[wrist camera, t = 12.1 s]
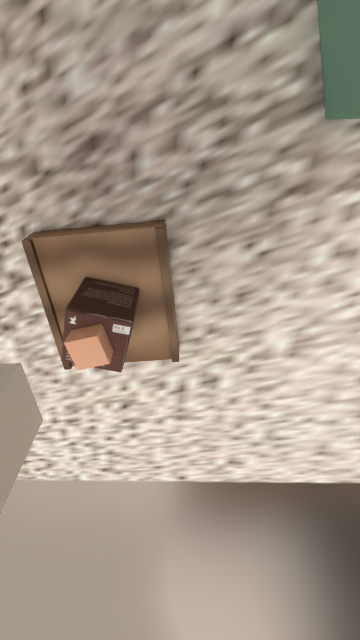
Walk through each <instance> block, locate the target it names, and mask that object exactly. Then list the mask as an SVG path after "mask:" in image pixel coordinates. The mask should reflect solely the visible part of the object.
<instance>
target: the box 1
mask: <svg viewBox="0 0 360 640" xmlns="http://www.w3.org/2000/svg"><path fill="white" fill-rule="evenodd" d="M138 297H139V289H138V288H134V287H129V286H125V285H120V284H115V283H111V282H106V281H102V280H97V279H92V278H88V277H85V278H84V279H83V281H82V283H81V284H80V286H79V288H78V289H77V291H76V292H75V294H74V296H73V297H72V299H71V300H70V302H69V303H68V305H67V307H66V308H65V317H64V330H63V343H62V354H61V361H64V362H69V363H74V362H73V360H72V358H71V356H70V354H69V352H68V350H67V348H66V346H65V344H64V342H65V340H66V338H67V336H68V334H69V333H70V331H71V330H75V329H80V328H84V327H89V326H93V325H98V324H102V325H103V327H104V329H105V332H106V334H107V336H108V339H109V341H110V343H111V346H112V348H113V350H114V351H113V354H112V357H111V361H110V364H106V365H101V366H96V367H95V368H101V369H106V370H111V371H116V372H122V369H123V365H124V361H125V358H126V353H127V349H128V345H129V341H130V337H131V332H132V328H133V323H134V318H135V313H136V308H137V302H138Z"/></svg>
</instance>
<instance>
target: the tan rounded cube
mask: <svg viewBox="0 0 360 640" xmlns="http://www.w3.org/2000/svg"><path fill="white" fill-rule="evenodd" d="M64 344H65V346H66V348H67V350H68V352H69V354H70V356H71V358H72V360H73V362H74V364H75V366H76V368H77V370H81V369H86V368H91V367H96V366H101V365H106V364H110V361H111V357H112V354H113V351H114V350H113V348H112V346H111V343H110V341H109V339H108V336H107V334H106V332H105V329H104V327H103V325H102V324H98V325H93V326H89V327H84V328H80V329H75V330H71V331H70V333H69V334H68V336H67V338H66V340H65V342H64Z"/></svg>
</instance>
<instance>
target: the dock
mask: <svg viewBox="0 0 360 640" xmlns="http://www.w3.org/2000/svg"><path fill="white" fill-rule="evenodd" d="M22 244H23V247H24V250H25V253H26V256H27V259H28V262H29V265H30V268H31V271H32V274H33V277H34V280H35V283H36V286H37V289H38V292H39V295H40V298H41V301H42V304H43V307H44V310H45V313H46V316H47V319H48V322H49V325H50V328H51V331H52V334H53V337H54V339H55V342H56V345H57V348H58V351H59V354H60V357H61V354H62V343H63V330H64V317H65V308H66V307H67V305H68V303H69V302H70V300H71V299H72V297H73V296H74V294H75V292H76V291H77V289H78V288H79V286H80V284H81V283H82V281H83V279H84V278H85V277H88V278H92V279H97V280H102V281H106V282H111V283H115V284H120V285H125V286H129V287H134V288H138V289H139V297H138V302H137V308H136V313H135V318H134V323H133V328H132V332H131V337H130V341H129V345H128V349H127V353H126V358H125V361H124V362H137V361H151V360H165V359H172V362H179V341H178V332H177V323H176V314H175V305H174V296H173V287H172V278H171V270H170V261H169V252H168V243H167V234H166V225H165V220H162V221H151V222H140V223H129V224H118V225H107V226H96V227H86V228H75V229H64V230H53V231H42V232H33V233H32V234H31V235H29V236H28V237H26V238H25V239H24V240H22ZM62 363H63V366H64V369H65V370H66V369H71V368H72V366H75V364H74V363H69V362H64V361H62Z"/></svg>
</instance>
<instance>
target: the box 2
mask: <svg viewBox="0 0 360 640" xmlns="http://www.w3.org/2000/svg"><path fill="white" fill-rule="evenodd" d="M317 5H318V19H319V33H320V46H321V60H322V73H323V87H324V100H325V114H326V119H327V120H329V119H357V118H360V0H317Z"/></svg>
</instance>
